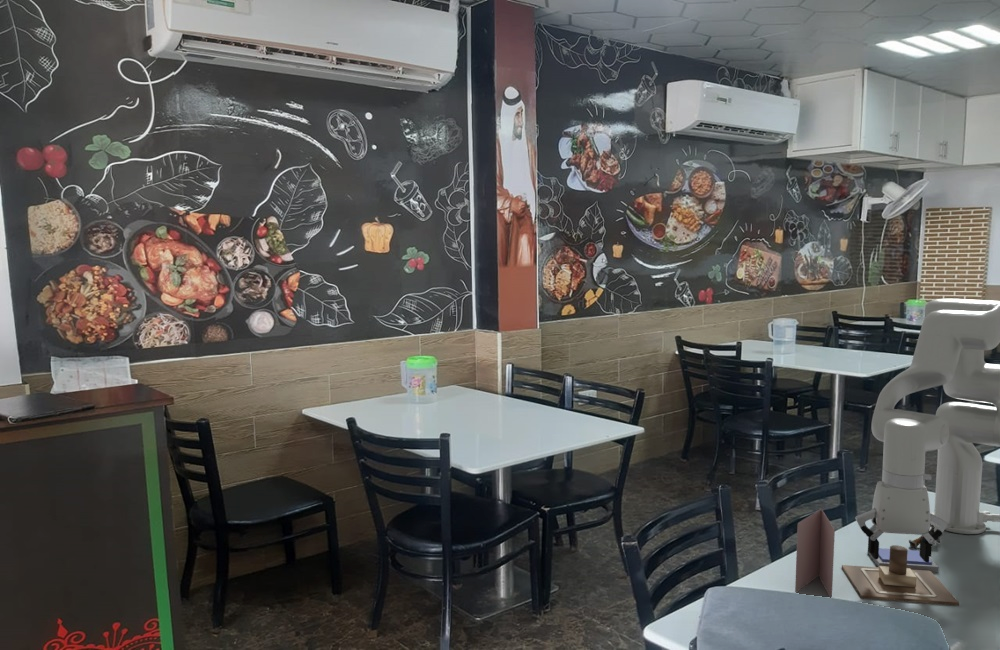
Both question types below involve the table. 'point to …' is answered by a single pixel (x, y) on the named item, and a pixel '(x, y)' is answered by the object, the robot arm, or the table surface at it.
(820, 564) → the greeting card
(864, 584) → the marked board
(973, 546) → the table surface
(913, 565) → the ink pad
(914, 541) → the wooden post with brackets
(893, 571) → the stamp
